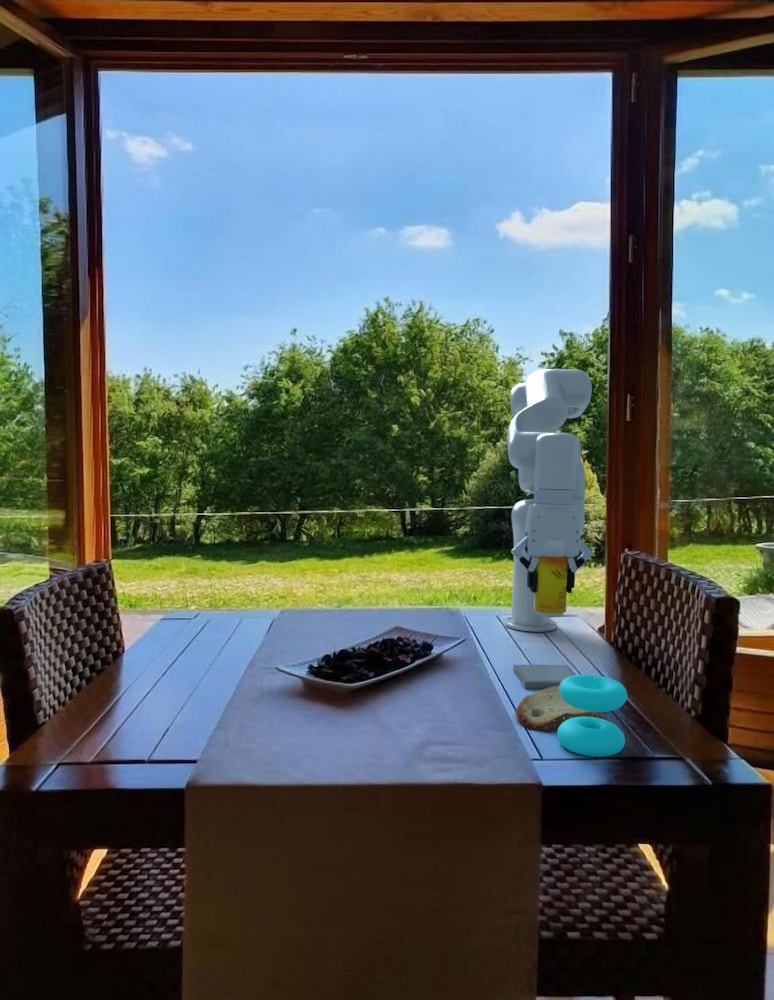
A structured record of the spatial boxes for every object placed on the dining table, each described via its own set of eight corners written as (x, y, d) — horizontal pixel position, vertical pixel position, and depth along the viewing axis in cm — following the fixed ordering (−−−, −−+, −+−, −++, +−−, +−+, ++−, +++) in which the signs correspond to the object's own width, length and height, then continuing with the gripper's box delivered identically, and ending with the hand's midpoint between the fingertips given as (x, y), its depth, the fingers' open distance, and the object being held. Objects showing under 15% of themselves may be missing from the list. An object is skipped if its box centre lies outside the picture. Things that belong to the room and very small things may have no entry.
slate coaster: (513, 670, 154) (513, 664, 154) (567, 671, 154) (567, 664, 154) (524, 688, 143) (524, 681, 143) (583, 689, 144) (583, 682, 143)
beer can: (566, 618, 144) (569, 539, 143) (533, 616, 145) (536, 538, 144) (565, 611, 150) (568, 535, 149) (533, 609, 151) (536, 534, 150)
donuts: (641, 685, 115) (597, 697, 109) (638, 750, 116) (594, 765, 110) (589, 668, 123) (545, 678, 117) (586, 729, 124) (543, 742, 118)
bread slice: (590, 694, 142) (591, 675, 141) (633, 732, 124) (634, 709, 124) (495, 696, 139) (496, 676, 139) (525, 735, 122) (526, 712, 121)
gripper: (593, 497, 150) (589, 588, 151) (505, 495, 149) (502, 587, 151) (605, 500, 142) (600, 596, 144) (512, 498, 142) (509, 594, 143)
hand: (550, 590), depth 147 cm, fingers closed on beer can, 6 cm apart
